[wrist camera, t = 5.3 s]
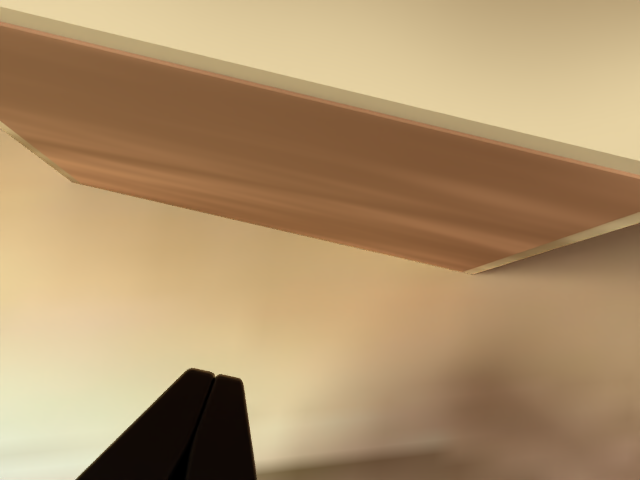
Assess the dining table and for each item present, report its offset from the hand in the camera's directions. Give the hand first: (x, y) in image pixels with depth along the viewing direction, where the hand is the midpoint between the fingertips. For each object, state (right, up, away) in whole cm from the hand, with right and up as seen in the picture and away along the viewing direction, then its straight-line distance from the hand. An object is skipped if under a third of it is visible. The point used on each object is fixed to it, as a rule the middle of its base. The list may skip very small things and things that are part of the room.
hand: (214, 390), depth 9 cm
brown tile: (+1, +4, +8) cm, 9 cm away
